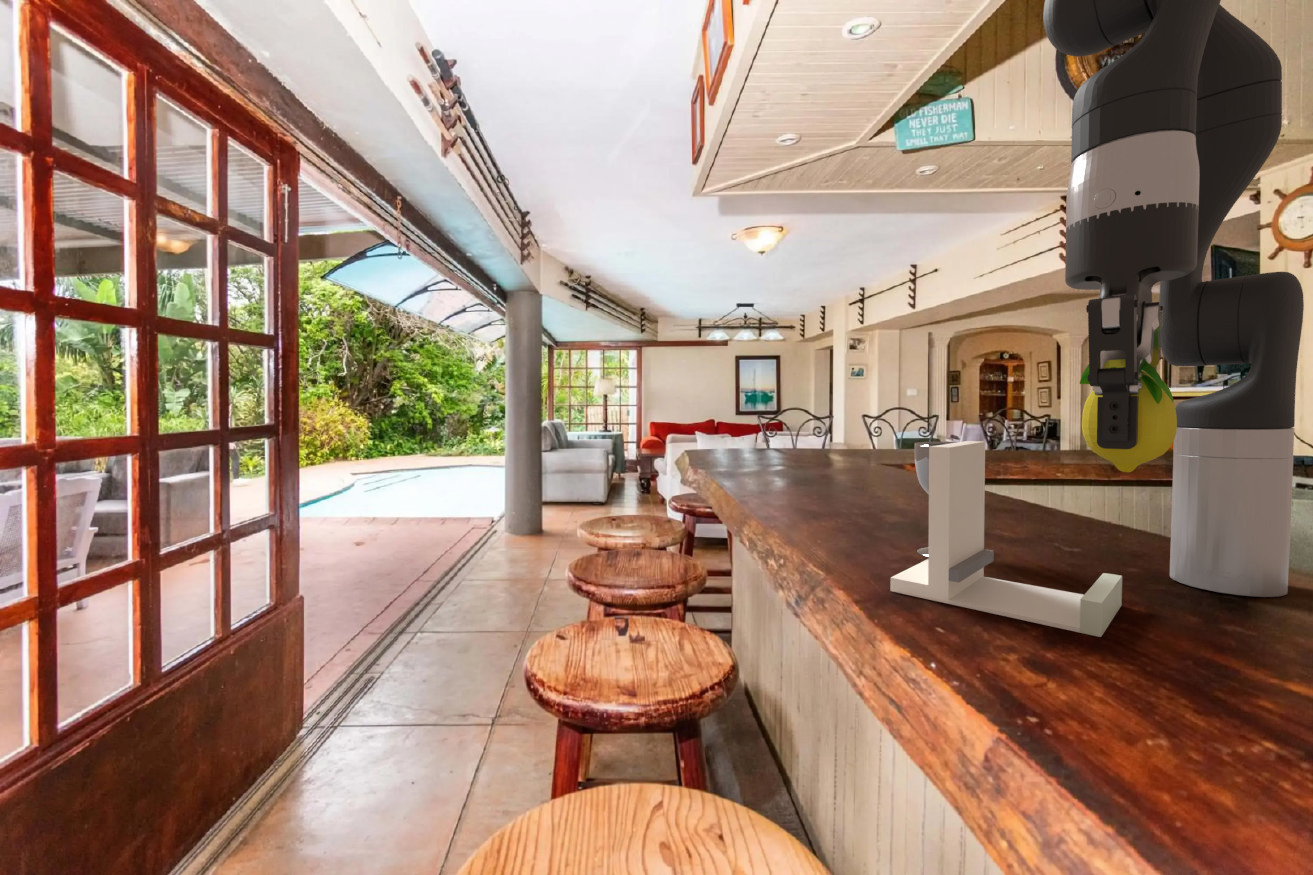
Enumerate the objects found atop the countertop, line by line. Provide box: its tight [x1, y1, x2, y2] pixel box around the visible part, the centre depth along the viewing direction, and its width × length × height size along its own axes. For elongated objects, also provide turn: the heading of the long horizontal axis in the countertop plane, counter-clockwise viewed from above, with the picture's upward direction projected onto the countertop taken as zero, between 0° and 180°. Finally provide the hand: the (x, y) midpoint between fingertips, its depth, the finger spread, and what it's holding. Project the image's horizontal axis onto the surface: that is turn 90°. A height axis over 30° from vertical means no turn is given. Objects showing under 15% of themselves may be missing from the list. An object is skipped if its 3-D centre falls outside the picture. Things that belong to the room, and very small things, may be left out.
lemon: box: [1079, 364, 1177, 473], centre depth 43 cm, size 7×6×10 cm
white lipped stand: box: [889, 440, 1123, 638], centre depth 60 cm, size 11×18×16 cm, turn 44°
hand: (1123, 444), depth 43 cm, fingers closed on lemon, 5 cm apart
